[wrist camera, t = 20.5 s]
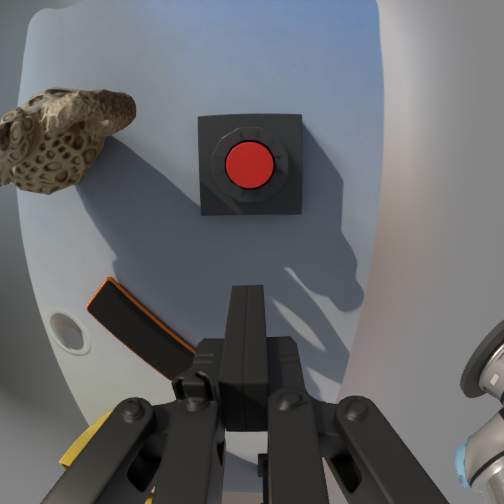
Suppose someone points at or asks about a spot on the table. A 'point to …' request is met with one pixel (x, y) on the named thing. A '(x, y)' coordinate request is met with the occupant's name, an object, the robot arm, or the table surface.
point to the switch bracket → (264, 475)
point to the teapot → (59, 136)
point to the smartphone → (140, 330)
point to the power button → (249, 165)
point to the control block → (261, 132)
